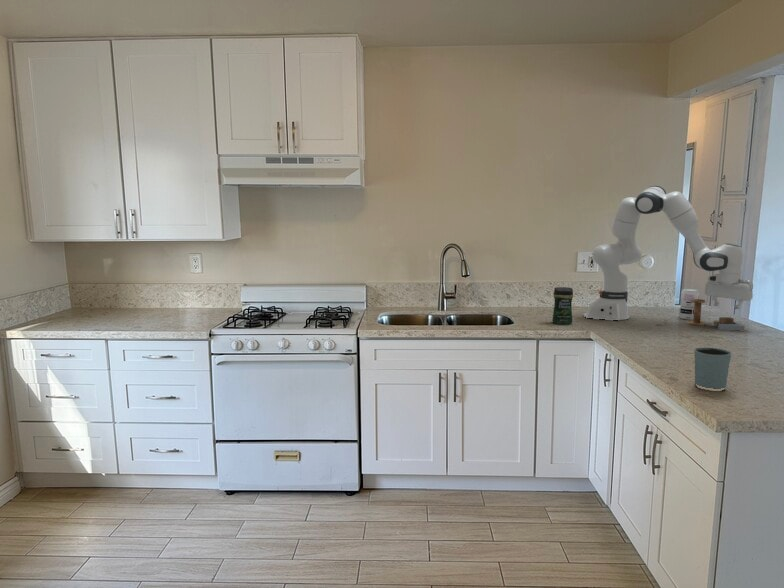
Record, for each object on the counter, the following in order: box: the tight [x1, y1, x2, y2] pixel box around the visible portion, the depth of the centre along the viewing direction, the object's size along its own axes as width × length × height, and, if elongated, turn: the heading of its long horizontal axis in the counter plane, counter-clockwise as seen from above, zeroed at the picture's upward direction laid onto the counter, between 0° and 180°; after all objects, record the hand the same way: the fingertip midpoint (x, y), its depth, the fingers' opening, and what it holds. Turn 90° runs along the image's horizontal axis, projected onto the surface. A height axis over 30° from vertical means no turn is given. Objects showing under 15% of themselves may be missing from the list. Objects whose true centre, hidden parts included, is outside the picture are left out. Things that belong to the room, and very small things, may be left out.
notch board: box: [713, 319, 746, 331], centre depth 255 cm, size 10×11×2 cm
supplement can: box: [679, 288, 700, 321], centre depth 277 cm, size 8×8×15 cm
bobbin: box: [688, 298, 706, 327], centre depth 264 cm, size 7×7×12 cm
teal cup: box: [693, 347, 732, 389], centre depth 172 cm, size 10×10×12 cm
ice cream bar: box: [712, 316, 735, 325], centre depth 255 cm, size 8×3×5 cm, turn 81°
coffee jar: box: [552, 286, 574, 325], centre depth 272 cm, size 10×8×19 cm
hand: (726, 307), depth 255 cm, fingers open, 8 cm apart
